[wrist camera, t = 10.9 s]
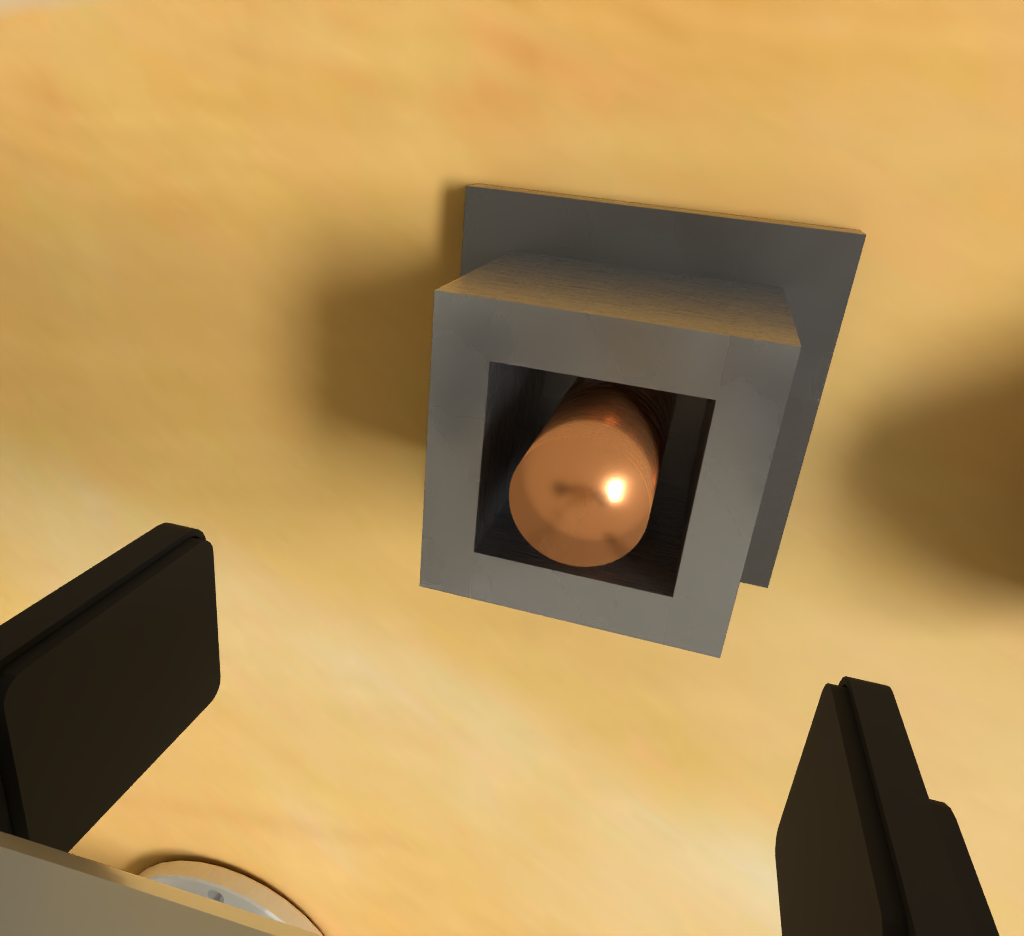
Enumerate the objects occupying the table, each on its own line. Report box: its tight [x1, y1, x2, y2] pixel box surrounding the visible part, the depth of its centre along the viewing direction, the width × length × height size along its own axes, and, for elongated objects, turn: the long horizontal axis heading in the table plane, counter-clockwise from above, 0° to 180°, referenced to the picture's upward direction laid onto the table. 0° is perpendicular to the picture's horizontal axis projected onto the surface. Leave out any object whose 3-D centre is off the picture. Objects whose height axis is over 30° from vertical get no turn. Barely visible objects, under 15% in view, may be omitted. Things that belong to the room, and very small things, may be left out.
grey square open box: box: [420, 251, 801, 658], centre depth 18 cm, size 7×7×6 cm
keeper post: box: [460, 184, 866, 588], centre depth 18 cm, size 10×10×8 cm
